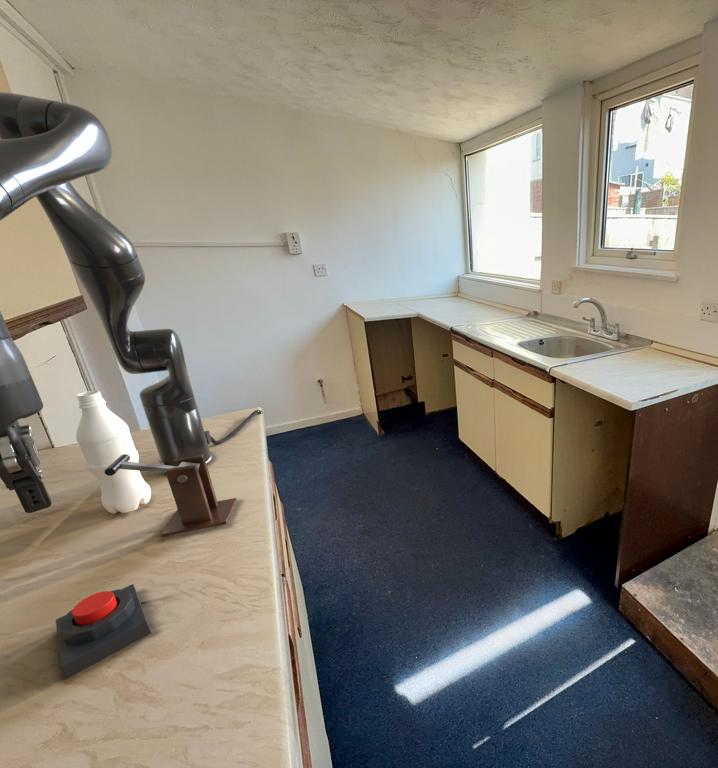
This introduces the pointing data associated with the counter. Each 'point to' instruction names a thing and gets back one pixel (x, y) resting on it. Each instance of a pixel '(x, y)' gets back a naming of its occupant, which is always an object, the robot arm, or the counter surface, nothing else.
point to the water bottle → (110, 454)
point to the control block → (101, 633)
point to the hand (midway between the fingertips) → (39, 507)
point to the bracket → (195, 498)
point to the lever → (140, 466)
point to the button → (94, 608)
